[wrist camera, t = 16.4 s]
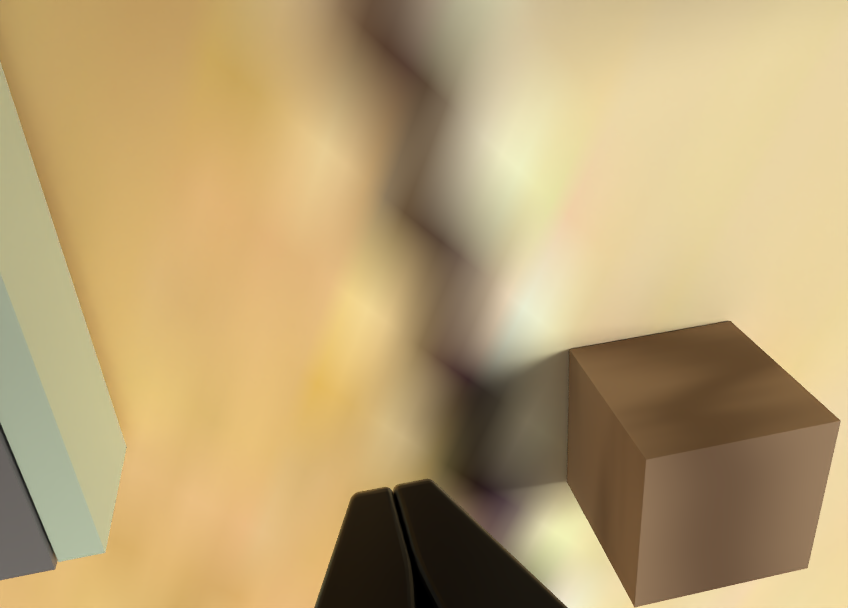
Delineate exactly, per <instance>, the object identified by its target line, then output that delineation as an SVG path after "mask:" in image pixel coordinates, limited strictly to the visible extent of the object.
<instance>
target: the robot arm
mask: <svg viewBox="0 0 848 608" xmlns="http://www.w3.org/2000/svg"><path fill="white" fill-rule="evenodd" d="M314 608H567V607H566V606H565V605H564V604H563V603H562V602H561V601H560V600H559V599H558V598H557V597H556V596H555V595H554V594H553V593H552V592H551V591H549V590H548V589H547V588H546V587H545V586H544V585H543V584H542V583H541V582H540V581H539V580H538V579H537V578H536V577H535V576H534V575H532V574H531V573H530V572H529V571H528V570H527V569H526V568H525V567H524V566H523V565H522V564H521V563H520V562H519V561H518V560H517V559H516V558H514V557H513V556H512V555H511V554H510V553H509V552H508V551H507V550H506V549H505V548H504V547H503V546H502V545H501V544H500V543H499V542H497V541H496V540H495V539H494V538H493V537H492V536H491V535H490V534H489V533H488V532H487V531H486V530H485V529H484V528H483V527H482V526H481V525H479V524H478V523H477V522H476V521H475V520H474V519H473V518H472V517H471V516H470V515H469V514H468V513H467V512H466V511H465V510H464V509H462V508H461V507H460V506H459V505H458V504H457V503H456V502H455V501H454V500H453V499H452V498H451V497H450V496H449V495H448V494H447V493H446V492H444V491H443V490H442V489H441V488H440V487H439V486H438V485H437V484H436V483H435V482H434V481H432V480H429V479H423V480H418V481H413V482H408V483H403V484H399V485H396V486H395V487H394V490H393V492H392V490H391V489H390V488H388V487H382V488H377V489H372V490H367V491H362V492H357V493H355V494H354V495H353V496H352V498H351V500H350V502H349V505H348V508H347V511H346V514H345V517H344V520H343V523H342V526H341V529H340V532H339V535H338V538H337V541H336V544H335V547H334V550H333V553H332V556H331V559H330V562H329V565H328V568H327V571H326V574H325V577H324V580H323V583H322V586H321V589H320V592H319V595H318V598H317V601H316V604H315V607H314Z"/></svg>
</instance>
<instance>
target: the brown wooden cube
mask: <svg viewBox="0 0 848 608" xmlns="http://www.w3.org/2000/svg"><path fill="white" fill-rule="evenodd" d="M839 426H840V420H839V419H838V418H837V417H836V416H835V415H834V414H833V413H831V412H830V411H829V410H828V409H827V408H826V407H825V406H824V405H823V404H822V403H820V402H819V401H818V400H817V399H816V398H815V397H814V396H813V395H812V394H810V393H809V392H808V391H807V390H806V389H805V388H804V387H803V386H802V385H801V384H799V383H798V382H797V381H796V380H795V379H794V378H793V377H792V376H791V375H789V374H788V373H787V372H786V371H785V370H784V369H783V368H782V367H781V366H779V365H778V364H777V363H776V362H775V361H774V360H773V359H772V358H771V357H770V356H768V355H767V354H766V353H765V352H764V351H763V350H762V349H761V348H760V347H758V346H757V345H756V344H755V343H754V342H753V341H752V340H751V339H750V338H749V337H747V336H746V335H745V334H744V333H743V332H742V331H741V330H740V329H739V328H737V327H736V326H735V325H734V324H733V323H732V322H731V321H728V322H722V323H716V324H711V325H705V326H699V327H694V328H688V329H683V330H677V331H671V332H666V333H660V334H654V335H649V336H643V337H637V338H632V339H626V340H620V341H615V342H609V343H604V344H598V345H592V346H587V347H581V348H575V349H570V350H569V408H568V467H567V483H568V485H569V487H570V488H571V490H572V492H573V494H574V496H575V498H576V499H577V501H578V503H579V505H580V507H581V509H582V511H583V512H584V514H585V516H586V518H587V520H588V522H589V524H590V525H591V527H592V529H593V531H594V533H595V535H596V537H597V538H598V540H599V542H600V544H601V546H602V548H603V550H604V551H605V553H606V555H607V557H608V559H609V561H610V563H611V564H612V566H613V568H614V570H615V572H616V574H617V575H618V577H619V579H620V581H621V583H622V585H623V587H624V588H625V590H626V592H627V594H628V596H629V598H630V600H631V601H632V603H633V605H634V607H638V606H642V605H647V604H651V603H655V602H660V601H664V600H669V599H673V598H677V597H682V596H686V595H691V594H695V593H699V592H704V591H708V590H713V589H717V588H721V587H726V586H730V585H735V584H739V583H743V582H748V581H752V580H757V579H761V578H765V577H770V576H774V575H779V574H783V573H787V572H792V571H796V570H801V569H805V568H808V564H809V559H810V555H811V550H812V546H813V542H814V537H815V533H816V528H817V524H818V519H819V515H820V510H821V506H822V501H823V497H824V493H825V488H826V484H827V479H828V475H829V470H830V466H831V461H832V457H833V453H834V448H835V444H836V439H837V435H838V430H839Z"/></svg>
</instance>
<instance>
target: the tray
mask: <svg viewBox="0 0 848 608" xmlns="http://www.w3.org/2000/svg"><path fill="white" fill-rule="evenodd" d="M0 423H1V425H2V428H3V430H4V433H5V435H6V437H7V440H8V442H9V445H10V447H11V449H12V452H13V454H14V457H15V459H16V461H17V464H18V466H19V468H20V471H21V473H22V476H23V478H24V480H25V483H26V485H27V488H28V490H29V492H30V495H31V497H32V500H33V502H34V504H35V507H36V509H37V512H38V514H39V516H40V519H41V521H42V524H43V526H44V528H45V531H46V533H47V535H48V538H49V540H50V543H51V545H52V547H53V550H54V552H55V555H56V557H57V559H58V562H61V561H66V560H71V559H76V558H81V557H86V556H91V555H96V554H101V553H105V551H106V546H107V541H108V536H109V531H110V527H111V522H112V517H113V512H114V507H115V502H116V497H117V492H118V487H119V482H120V477H121V473H122V468H123V463H124V458H125V453H126V448H127V447H126V444H125V441H124V438H123V435H122V432H121V429H120V425H119V422H118V419H117V416H116V413H115V410H114V407H113V404H112V401H111V398H110V395H109V392H108V389H107V386H106V383H105V380H104V377H103V374H102V370H101V367H100V364H99V361H98V358H97V355H96V352H95V349H94V346H93V343H92V340H91V337H90V334H89V331H88V328H87V325H86V322H85V319H84V316H83V312H82V309H81V306H80V303H79V300H78V297H77V294H76V291H75V288H74V285H73V282H72V279H71V276H70V273H69V270H68V267H67V264H66V261H65V257H64V254H63V251H62V248H61V245H60V242H59V239H58V236H57V233H56V230H55V227H54V224H53V221H52V218H51V215H50V212H49V209H48V206H47V202H46V199H45V196H44V193H43V190H42V187H41V184H40V181H39V178H38V175H37V172H36V169H35V166H34V163H33V160H32V157H31V154H30V151H29V148H28V144H27V141H26V138H25V135H24V132H23V129H22V126H21V123H20V120H19V117H18V114H17V111H16V108H15V105H14V102H13V99H12V96H11V93H10V89H9V86H8V83H7V80H6V77H5V74H4V71H3V68H2V65H1V62H0Z"/></svg>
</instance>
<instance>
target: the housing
mask: <svg viewBox="0 0 848 608" xmlns="http://www.w3.org/2000/svg"><path fill="white" fill-rule="evenodd" d="M57 561H58V559H57V557H56V555H55V552H54V550H53V547H52V545H51V543H50V540H49V538H48V535H47V533H46V531H45V528H44V526H43V524H42V521H41V519H40V516H39V514H38V512H37V509H36V507H35V504H34V502H33V500H32V497H31V495H30V492H29V490H28V488H27V485H26V483H25V480H24V478H23V476H22V473H21V471H20V468H19V466H18V464H17V461H16V459H15V457H14V454H13V452H12V449H11V447H10V445H9V442H8V440H7V437H6V435H5V433H4V430H3V428H2V425H1V423H0V580H4V579H9V578H14V577H19V576H24V575H29V574H34V573H39V572H44V571H49V570H54V569H55V568H56V564H57Z"/></svg>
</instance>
